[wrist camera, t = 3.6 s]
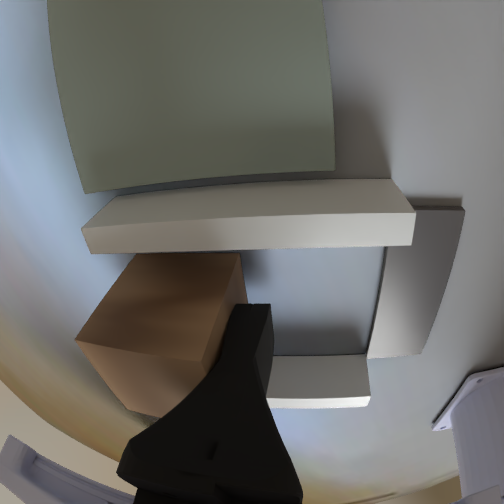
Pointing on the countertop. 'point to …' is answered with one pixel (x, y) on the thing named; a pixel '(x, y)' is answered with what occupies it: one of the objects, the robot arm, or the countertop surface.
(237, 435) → the robot arm
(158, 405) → the block
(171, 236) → the white u-shaped frame
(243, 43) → the coaster
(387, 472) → the countertop surface
